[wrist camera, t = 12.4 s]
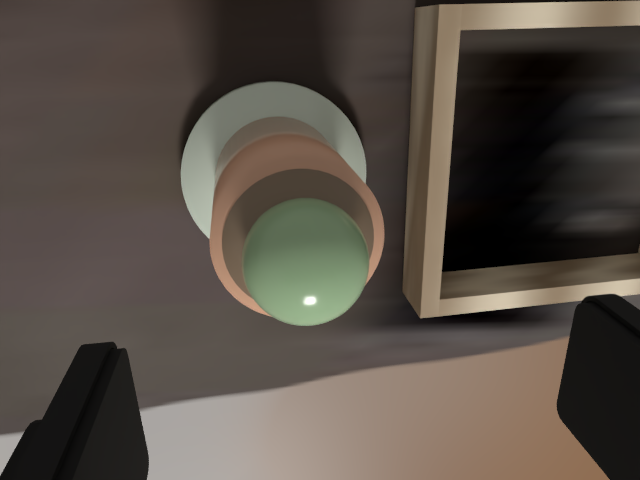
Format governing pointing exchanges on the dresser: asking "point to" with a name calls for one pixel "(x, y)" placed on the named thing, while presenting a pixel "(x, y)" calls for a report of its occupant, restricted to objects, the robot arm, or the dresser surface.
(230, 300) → the dresser surface
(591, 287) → the wooden frame
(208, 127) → the pale mint disc
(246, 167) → the terracotta pot
